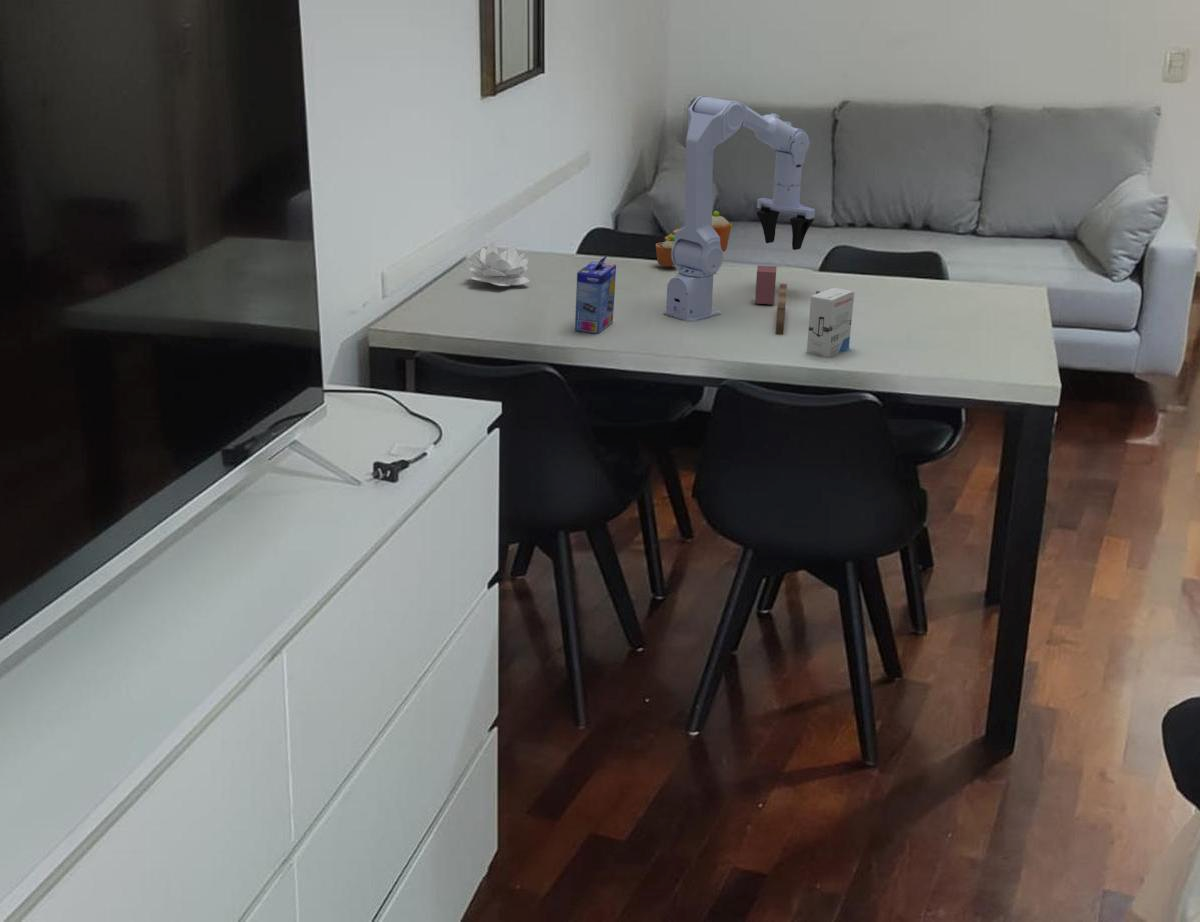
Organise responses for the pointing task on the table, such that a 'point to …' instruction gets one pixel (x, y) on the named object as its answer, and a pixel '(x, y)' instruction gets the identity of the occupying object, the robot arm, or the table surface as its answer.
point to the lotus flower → (500, 266)
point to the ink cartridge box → (595, 297)
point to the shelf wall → (781, 308)
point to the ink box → (830, 322)
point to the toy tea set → (665, 247)
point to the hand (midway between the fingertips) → (783, 245)
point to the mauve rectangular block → (765, 284)
